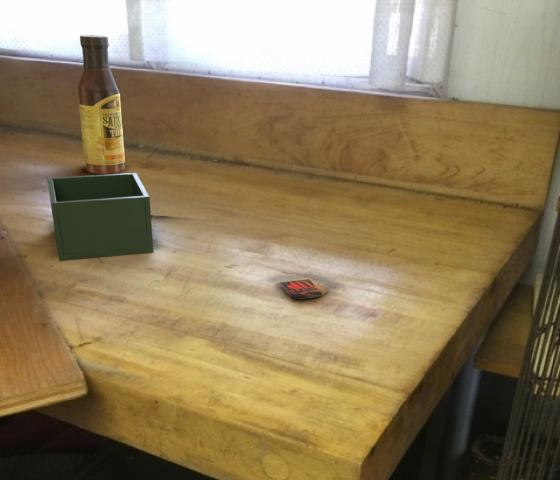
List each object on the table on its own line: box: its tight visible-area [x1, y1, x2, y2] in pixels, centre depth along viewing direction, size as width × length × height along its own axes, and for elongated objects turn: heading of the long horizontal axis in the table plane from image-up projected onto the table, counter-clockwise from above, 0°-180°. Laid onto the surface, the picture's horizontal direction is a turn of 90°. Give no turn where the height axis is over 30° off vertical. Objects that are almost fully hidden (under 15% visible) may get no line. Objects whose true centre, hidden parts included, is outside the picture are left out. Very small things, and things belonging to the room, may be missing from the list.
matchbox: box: [275, 277, 329, 300], centre depth 73 cm, size 5×5×1 cm
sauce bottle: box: [77, 34, 126, 175], centre depth 107 cm, size 7×6×20 cm
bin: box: [46, 172, 154, 261], centre depth 83 cm, size 11×11×7 cm
